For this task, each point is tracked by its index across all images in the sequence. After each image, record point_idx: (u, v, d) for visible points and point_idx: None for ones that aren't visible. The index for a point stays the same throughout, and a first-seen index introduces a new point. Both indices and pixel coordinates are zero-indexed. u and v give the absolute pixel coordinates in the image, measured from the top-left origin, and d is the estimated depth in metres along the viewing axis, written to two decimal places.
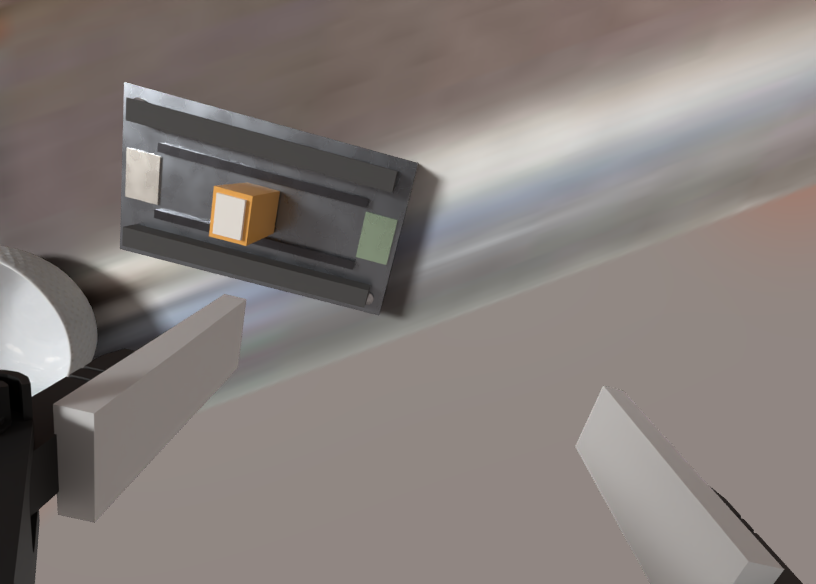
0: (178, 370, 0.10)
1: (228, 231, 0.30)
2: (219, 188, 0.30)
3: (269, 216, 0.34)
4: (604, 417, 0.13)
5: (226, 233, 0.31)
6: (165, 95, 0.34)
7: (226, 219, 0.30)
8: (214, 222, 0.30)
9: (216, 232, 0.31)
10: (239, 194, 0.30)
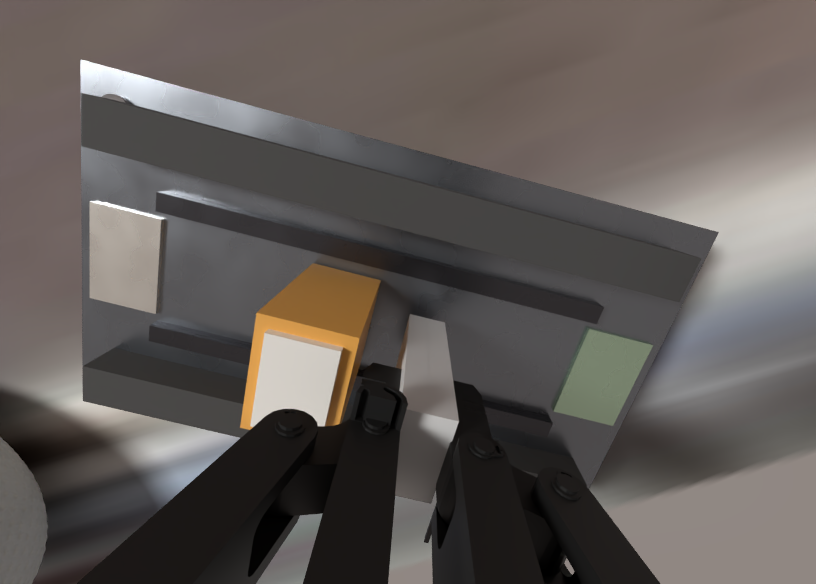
0: None
1: None
2: (271, 319, 0.11)
3: (364, 342, 0.16)
4: None
5: None
6: (173, 89, 0.15)
7: (287, 397, 0.12)
8: (256, 401, 0.12)
9: None
10: (324, 334, 0.11)
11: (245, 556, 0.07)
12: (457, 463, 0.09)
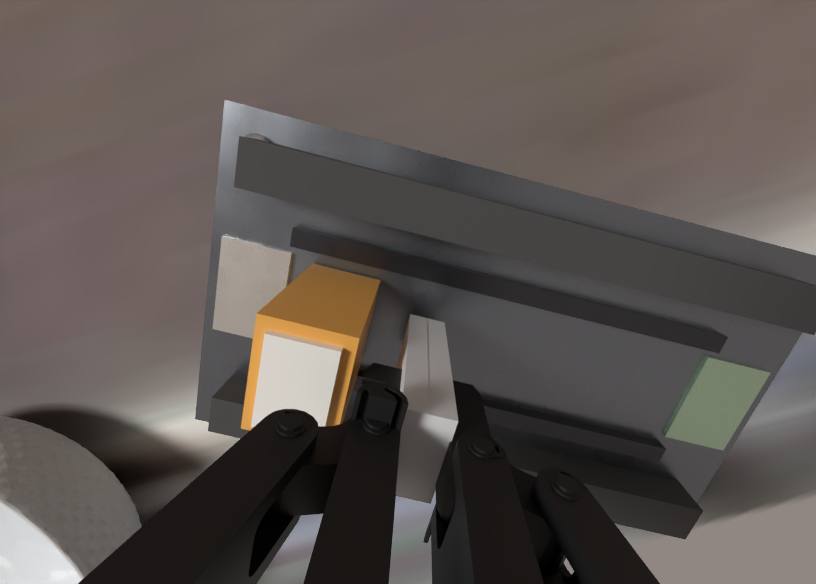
0: None
1: None
2: (271, 319, 0.11)
3: (364, 342, 0.16)
4: None
5: None
6: (314, 127, 0.15)
7: (288, 397, 0.12)
8: (256, 401, 0.12)
9: None
10: (324, 334, 0.11)
11: (246, 556, 0.07)
12: (456, 463, 0.09)
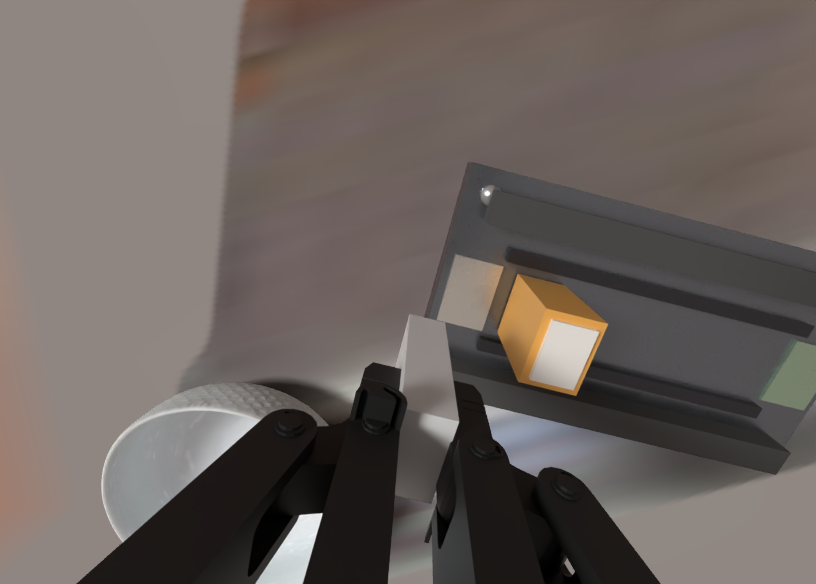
0: None
1: (557, 377, 0.19)
2: (554, 312, 0.18)
3: None
4: None
5: (553, 380, 0.19)
6: (532, 181, 0.22)
7: (558, 360, 0.18)
8: (536, 363, 0.19)
9: (537, 378, 0.19)
10: (586, 321, 0.18)
11: (245, 556, 0.07)
12: (457, 463, 0.09)
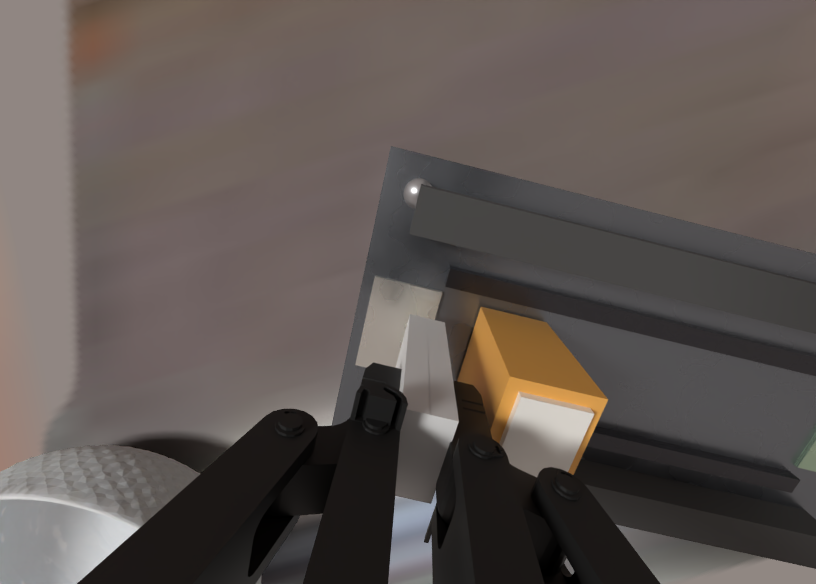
0: None
1: None
2: (523, 382, 0.11)
3: None
4: None
5: None
6: (476, 172, 0.16)
7: (531, 456, 0.12)
8: None
9: None
10: (573, 396, 0.11)
11: (245, 556, 0.07)
12: (457, 463, 0.09)
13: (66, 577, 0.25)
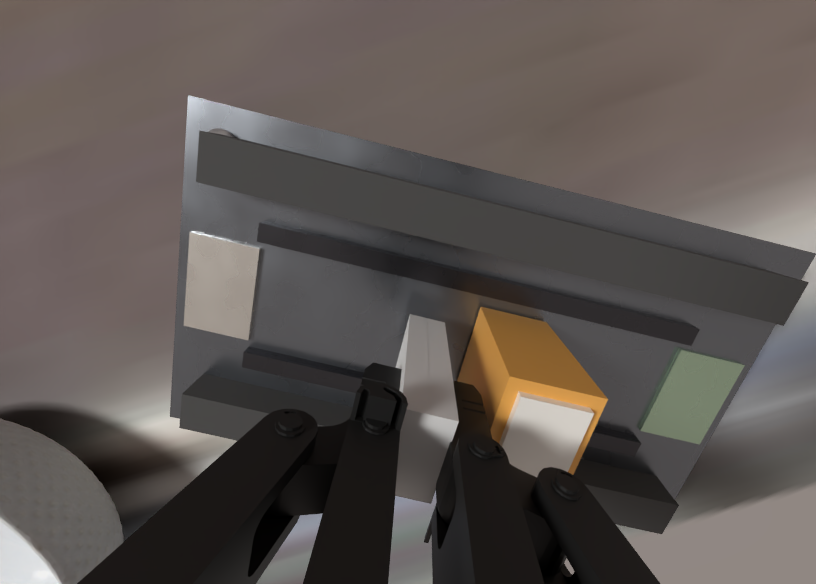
0: None
1: None
2: (523, 382, 0.11)
3: None
4: None
5: None
6: (278, 122, 0.15)
7: (531, 456, 0.12)
8: None
9: None
10: (573, 396, 0.11)
11: (245, 556, 0.07)
12: (457, 463, 0.09)
13: None
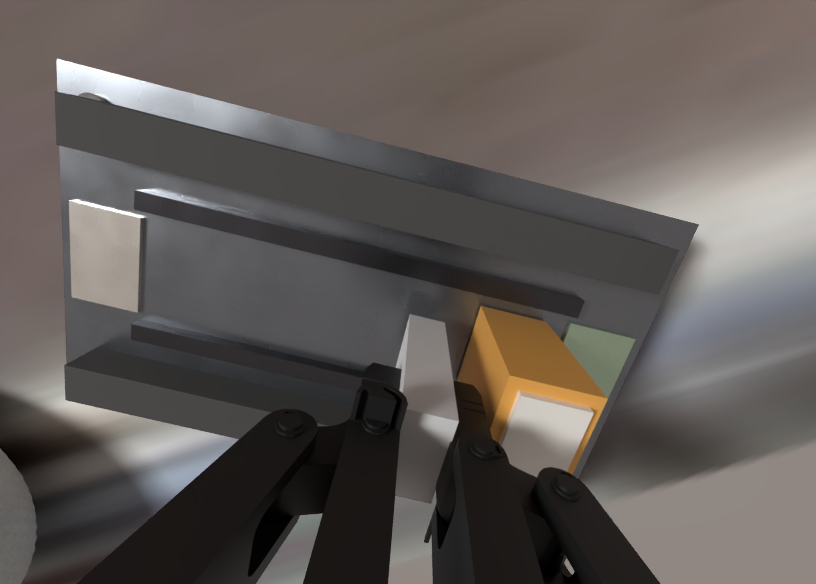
0: None
1: None
2: (523, 381, 0.11)
3: None
4: None
5: None
6: (149, 87, 0.15)
7: (531, 455, 0.12)
8: None
9: None
10: (572, 395, 0.11)
11: (245, 556, 0.07)
12: (457, 463, 0.09)
13: None
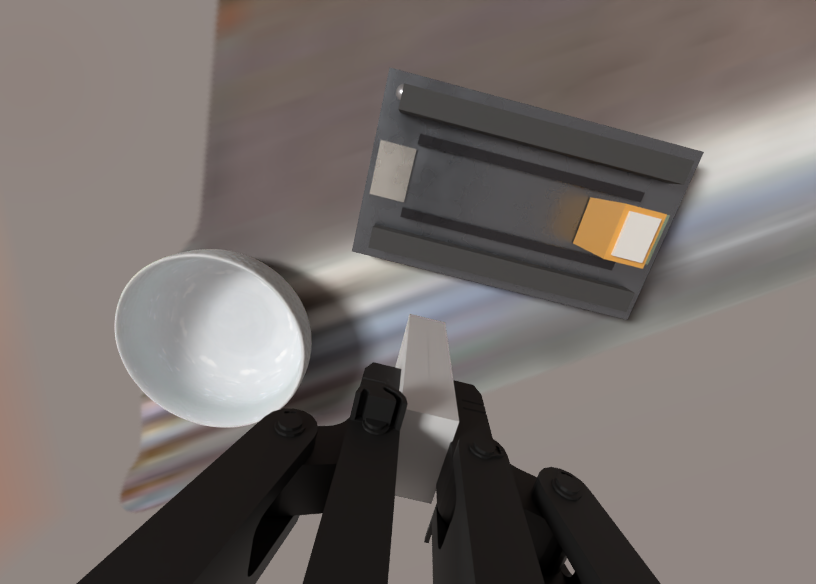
0: None
1: (632, 253, 0.28)
2: (631, 206, 0.27)
3: None
4: None
5: (628, 255, 0.28)
6: (433, 81, 0.31)
7: (633, 240, 0.27)
8: (617, 243, 0.28)
9: (618, 254, 0.28)
10: (652, 213, 0.27)
11: (245, 556, 0.07)
12: (457, 462, 0.09)
13: (186, 353, 0.40)
